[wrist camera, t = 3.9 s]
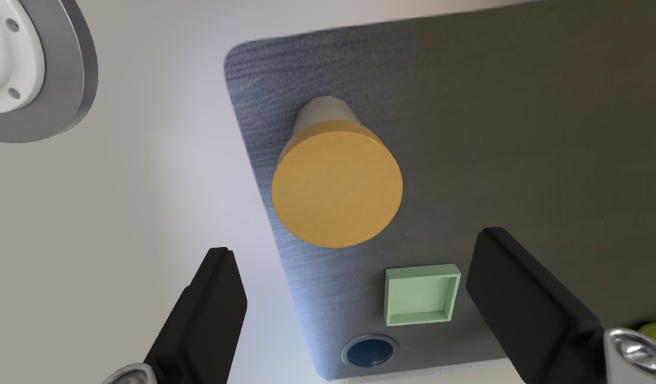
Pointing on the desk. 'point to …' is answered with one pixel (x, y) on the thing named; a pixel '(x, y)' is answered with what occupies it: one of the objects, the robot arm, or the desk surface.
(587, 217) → the desk surface
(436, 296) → the tray
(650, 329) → the tennis ball
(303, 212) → the lid
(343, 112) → the jar
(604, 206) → the desk surface
